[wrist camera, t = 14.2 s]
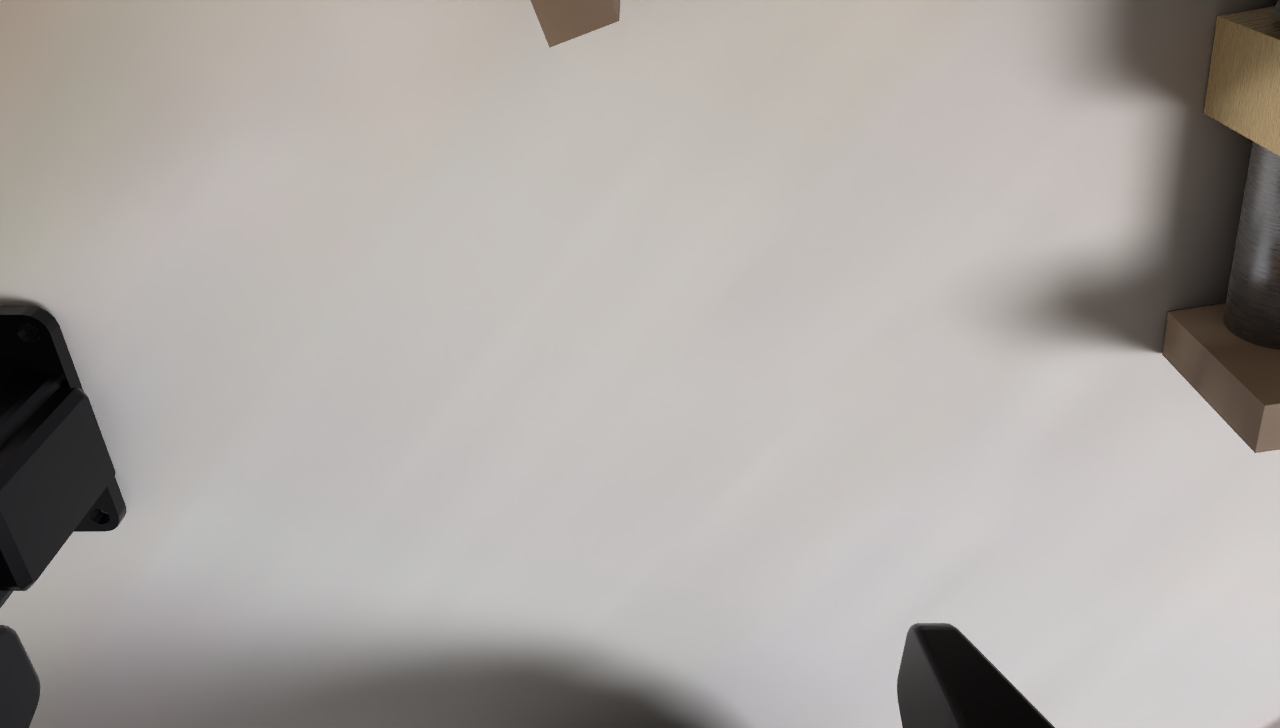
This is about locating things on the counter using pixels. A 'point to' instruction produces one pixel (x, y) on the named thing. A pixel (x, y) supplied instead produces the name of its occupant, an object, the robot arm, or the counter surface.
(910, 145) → the counter surface
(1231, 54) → the shaft
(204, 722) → the counter surface
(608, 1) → the shaft
